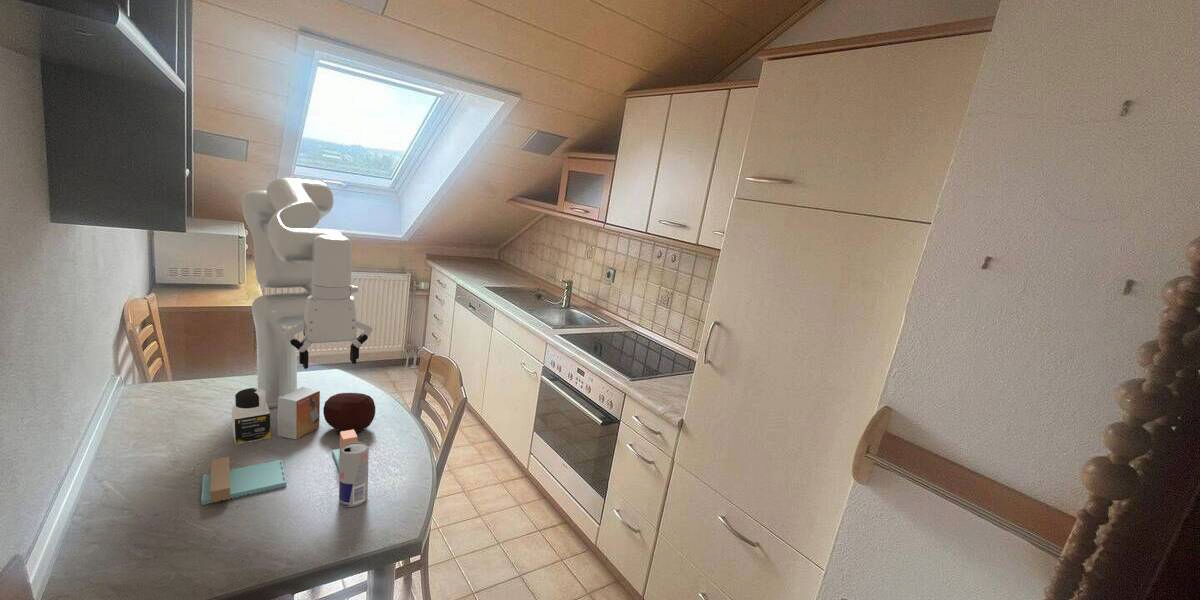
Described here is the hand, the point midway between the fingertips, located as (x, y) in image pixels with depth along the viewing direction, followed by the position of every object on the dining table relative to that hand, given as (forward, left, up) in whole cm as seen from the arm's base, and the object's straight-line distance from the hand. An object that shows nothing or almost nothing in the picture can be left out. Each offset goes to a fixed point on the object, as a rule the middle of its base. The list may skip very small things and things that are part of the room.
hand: (329, 364), depth 109 cm
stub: (+2, +4, -24) cm, 24 cm away
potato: (-14, +7, -24) cm, 29 cm away
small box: (-18, -4, -24) cm, 30 cm away
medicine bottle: (-20, -14, -24) cm, 34 cm away
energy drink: (+18, +2, -24) cm, 30 cm away
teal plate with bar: (+2, -16, -24) cm, 29 cm away
